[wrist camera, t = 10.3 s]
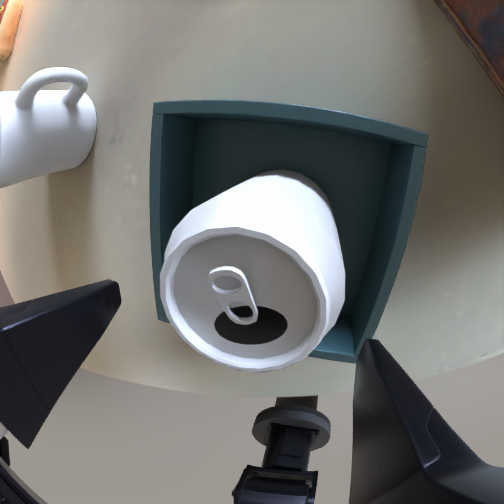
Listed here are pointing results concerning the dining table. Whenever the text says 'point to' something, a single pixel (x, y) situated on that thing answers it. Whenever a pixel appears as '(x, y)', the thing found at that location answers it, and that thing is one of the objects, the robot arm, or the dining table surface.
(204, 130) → the box
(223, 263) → the can
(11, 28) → the food
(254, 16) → the dining table surface
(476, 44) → the container
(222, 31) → the dining table surface
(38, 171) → the mug
